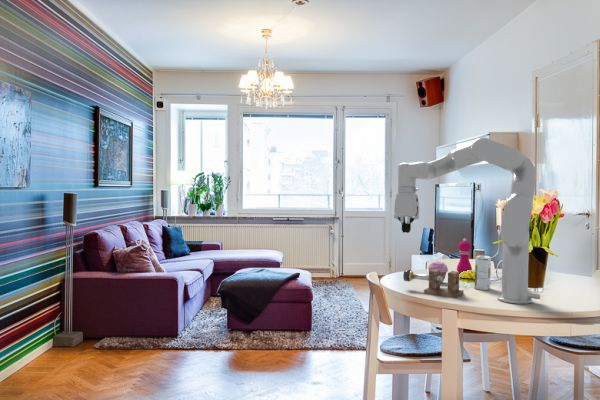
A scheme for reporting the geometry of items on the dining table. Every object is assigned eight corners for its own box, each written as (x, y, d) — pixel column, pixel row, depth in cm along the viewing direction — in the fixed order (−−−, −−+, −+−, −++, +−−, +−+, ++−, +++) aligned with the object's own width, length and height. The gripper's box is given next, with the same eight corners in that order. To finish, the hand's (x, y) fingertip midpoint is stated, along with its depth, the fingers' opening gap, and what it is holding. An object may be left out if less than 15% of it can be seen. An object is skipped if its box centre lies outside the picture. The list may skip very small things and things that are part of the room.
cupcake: (424, 282, 226) (425, 261, 226) (434, 279, 232) (434, 259, 232) (441, 284, 220) (442, 263, 219) (451, 282, 226) (451, 261, 225)
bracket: (463, 293, 200) (463, 271, 200) (457, 297, 193) (457, 274, 192) (430, 289, 208) (431, 268, 208) (423, 293, 200) (424, 271, 200)
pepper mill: (472, 279, 234) (473, 239, 234) (457, 278, 236) (458, 238, 235) (470, 276, 241) (471, 237, 241) (455, 276, 243) (456, 237, 242)
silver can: (476, 286, 216) (477, 255, 215) (490, 288, 213) (491, 256, 212) (474, 289, 211) (474, 256, 210) (488, 290, 208) (489, 257, 207)
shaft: (443, 284, 203) (443, 272, 203) (439, 286, 199) (439, 274, 199) (407, 280, 212) (407, 268, 212) (403, 281, 208) (403, 270, 207)
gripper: (426, 191, 208) (425, 232, 208) (393, 190, 216) (393, 230, 217) (420, 190, 202) (420, 234, 202) (387, 190, 210) (386, 232, 210)
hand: (406, 232), depth 209 cm, fingers closed
